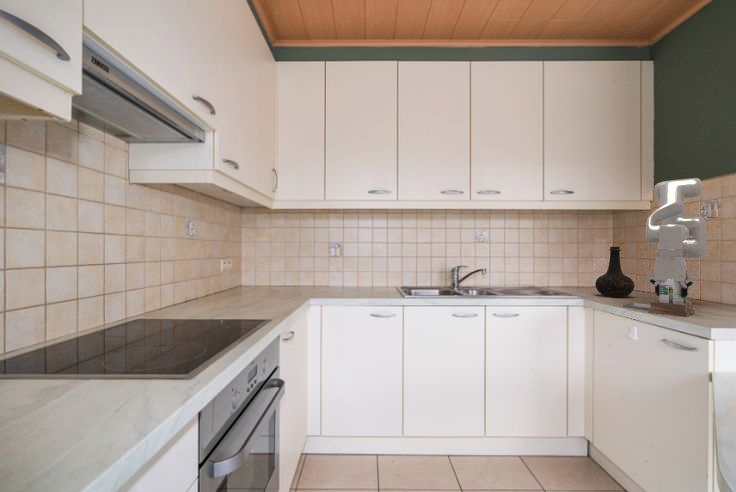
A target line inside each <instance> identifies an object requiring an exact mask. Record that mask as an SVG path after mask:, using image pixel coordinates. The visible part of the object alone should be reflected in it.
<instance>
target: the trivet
mask: <svg viewBox="0 0 736 492" xmlns="http://www.w3.org/2000/svg"><path fill="white" fill-rule="evenodd" d="M622 307H623V308H632V309H641V310H647V311H649V309H650V304H647V303H638V302H630V303H625V304H623V305H622Z"/></svg>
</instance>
